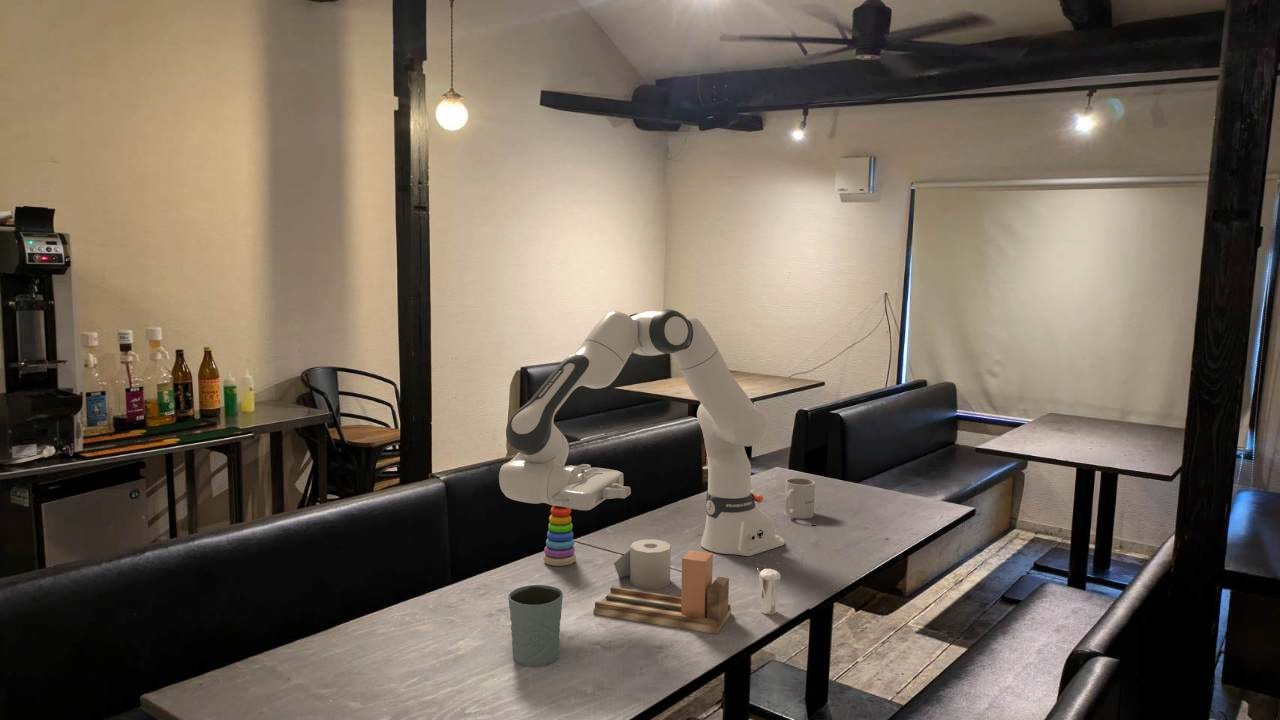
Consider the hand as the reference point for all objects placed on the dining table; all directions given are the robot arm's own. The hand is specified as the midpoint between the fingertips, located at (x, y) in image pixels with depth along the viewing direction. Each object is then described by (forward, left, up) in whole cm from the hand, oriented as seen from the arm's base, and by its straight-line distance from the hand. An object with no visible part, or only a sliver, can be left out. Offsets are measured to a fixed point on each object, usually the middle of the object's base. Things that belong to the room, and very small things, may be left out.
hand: (628, 492), depth 177 cm
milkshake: (-25, +16, -26) cm, 39 cm away
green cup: (+26, +11, -26) cm, 38 cm away
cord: (-4, +5, -24) cm, 25 cm away
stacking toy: (+1, -33, -26) cm, 42 cm away
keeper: (-10, +12, -24) cm, 28 cm away
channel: (-5, +6, -25) cm, 27 cm away
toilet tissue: (-11, -12, -26) cm, 30 cm away
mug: (-77, -36, -26) cm, 89 cm away
